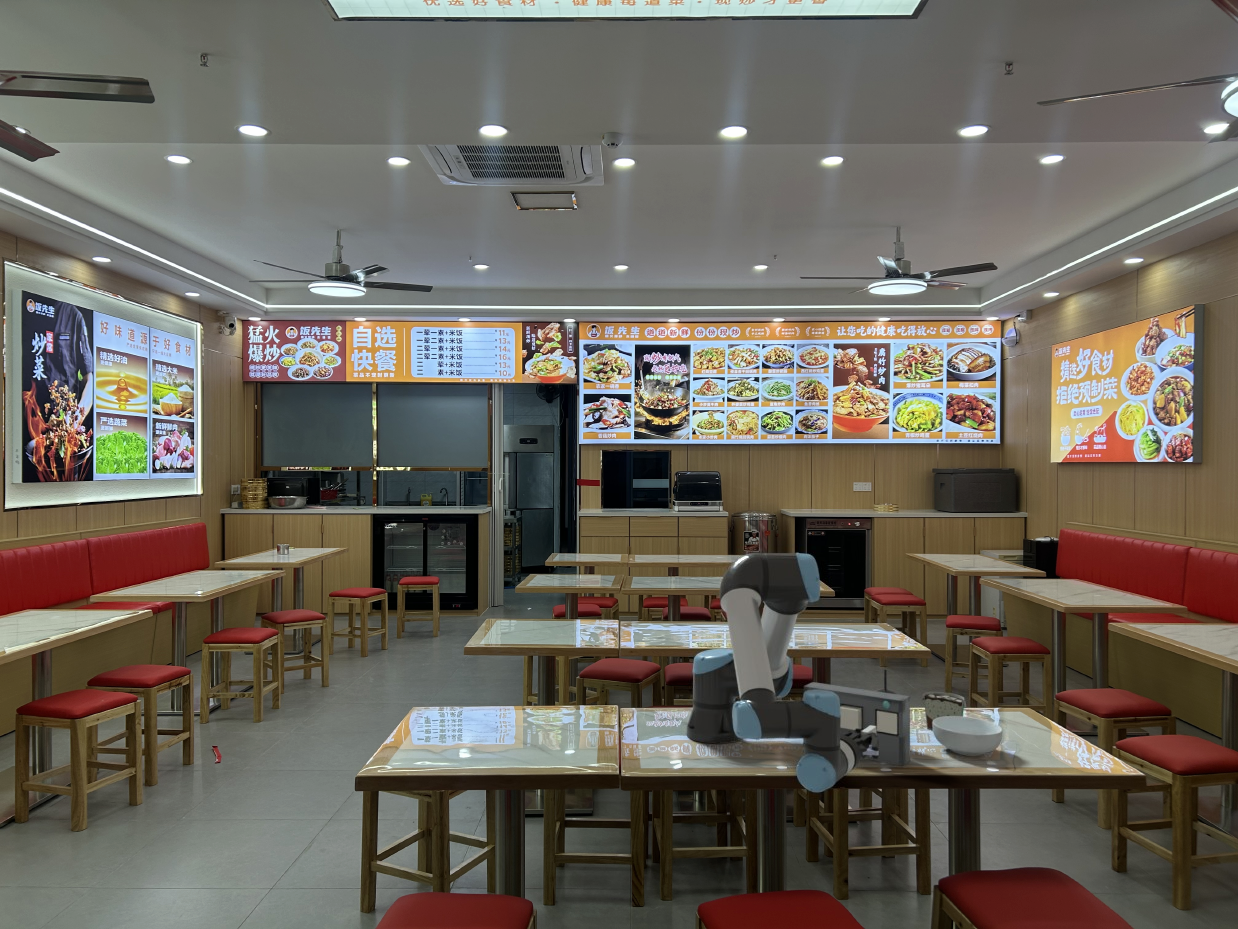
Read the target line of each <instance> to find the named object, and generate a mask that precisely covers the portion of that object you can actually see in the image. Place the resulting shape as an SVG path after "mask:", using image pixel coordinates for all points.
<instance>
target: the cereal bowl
mask: <svg viewBox="0 0 1238 929" xmlns="http://www.w3.org/2000/svg"><path fill="white" fill-rule="evenodd" d="M932 727H933V730H932V733H933V735H934V737H935V739H936V740H937V741H938V743H939V744H941V746H943V747H946V748H947V749H950V751H951V752H953V753H955V754H958V755H961V756H969V757H978V756H982V755H983V754H987V753H990V752H993V751H995V750H996V749H998V748H999V746H1000V745H1001V743H1002V739H1003V729H1002V726H1000V725H998V724H997V723H995V722H992V721H989V720H985V719H981V718H976V717H971V716H964V715H963V716H945V717H939V718H936V719H934V720H933V723H932Z"/></svg>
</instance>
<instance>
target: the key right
mask: <svg viewBox="0 0 1238 929" xmlns="http://www.w3.org/2000/svg"><path fill="white" fill-rule="evenodd" d="M877 731H880V732H886V733H892V734H898V733H899V713H898V712H892V711H886V710H878V711H877Z"/></svg>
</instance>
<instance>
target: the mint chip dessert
mask: <svg viewBox="0 0 1238 929" xmlns="http://www.w3.org/2000/svg"><path fill="white" fill-rule="evenodd" d="M921 701H923V704H924V713H925V724H926V730H931V731H933V727H932V723H933V720H934V719H936V718H939V717H945V716H963V717H964V711H965V709H966V708H967V704H966V702H967V701H966V699H965V697H964V696H962V695H959V694H957V693H952V692H942V691H941V692H940V691H928V692H924V693H923V695H922V697H921Z"/></svg>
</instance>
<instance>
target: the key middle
mask: <svg viewBox="0 0 1238 929" xmlns="http://www.w3.org/2000/svg"><path fill="white" fill-rule="evenodd" d="M840 714H841V723H840V728H846V729H852V730H855V729H856V728H858V729H861V728H863V707H857V706H851V705H845V704H844V705H842V706H841V707H840Z"/></svg>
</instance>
